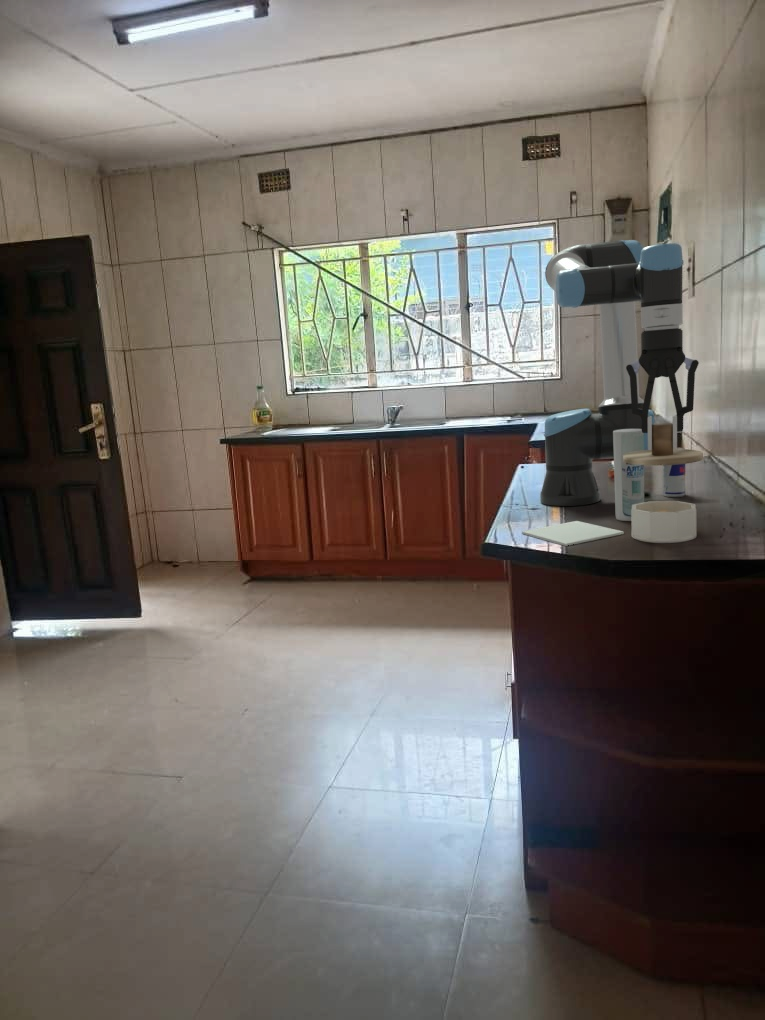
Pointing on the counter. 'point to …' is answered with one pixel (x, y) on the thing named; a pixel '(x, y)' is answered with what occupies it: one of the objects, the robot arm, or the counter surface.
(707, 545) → the counter surface
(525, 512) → the counter surface
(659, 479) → the counter surface
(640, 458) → the lid
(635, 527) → the bowl
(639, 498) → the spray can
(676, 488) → the energy drink
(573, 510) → the counter surface
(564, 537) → the mat
